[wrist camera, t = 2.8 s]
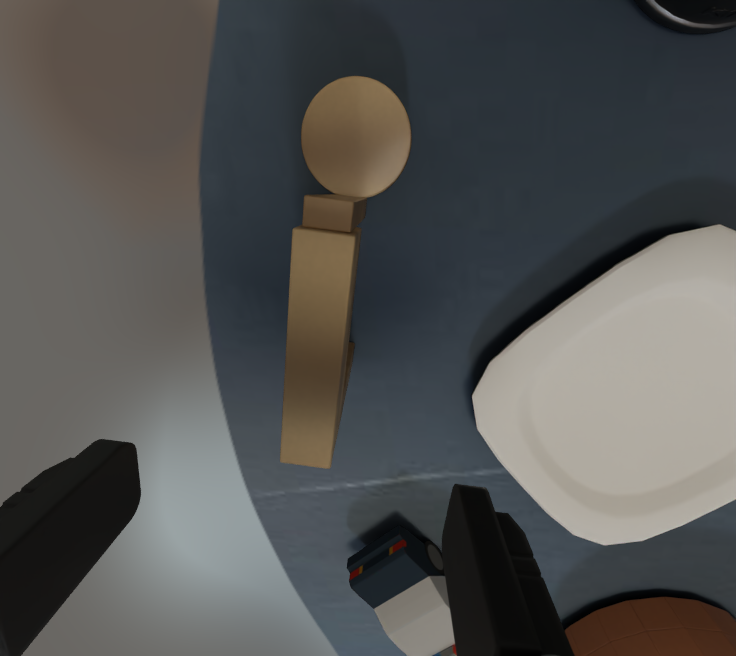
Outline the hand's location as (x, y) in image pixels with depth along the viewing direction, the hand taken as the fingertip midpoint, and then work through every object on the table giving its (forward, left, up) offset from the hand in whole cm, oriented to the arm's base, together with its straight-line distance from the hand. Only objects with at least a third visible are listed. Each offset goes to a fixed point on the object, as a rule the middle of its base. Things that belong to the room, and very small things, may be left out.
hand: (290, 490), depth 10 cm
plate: (+9, +17, -15) cm, 24 cm away
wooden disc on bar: (-4, +1, -14) cm, 15 cm away
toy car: (+24, +2, -15) cm, 28 cm away
